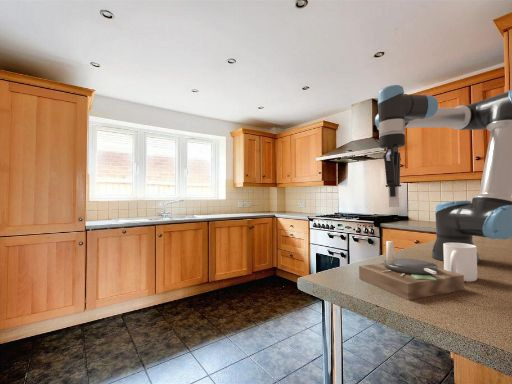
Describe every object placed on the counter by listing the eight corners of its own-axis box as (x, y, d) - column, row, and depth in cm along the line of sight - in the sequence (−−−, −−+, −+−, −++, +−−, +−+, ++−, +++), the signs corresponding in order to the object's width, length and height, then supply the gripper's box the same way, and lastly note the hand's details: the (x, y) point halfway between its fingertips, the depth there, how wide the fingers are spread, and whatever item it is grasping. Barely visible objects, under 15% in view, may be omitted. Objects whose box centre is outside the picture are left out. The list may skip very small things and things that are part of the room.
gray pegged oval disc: (375, 262, 86) (375, 238, 86) (417, 261, 87) (417, 237, 87) (408, 279, 69) (408, 248, 69) (461, 278, 69) (460, 247, 69)
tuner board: (408, 272, 90) (407, 259, 90) (466, 290, 72) (465, 274, 72) (359, 278, 83) (359, 265, 83) (409, 300, 66) (409, 283, 66)
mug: (469, 286, 75) (468, 250, 75) (435, 279, 81) (435, 246, 81) (480, 278, 82) (479, 245, 82) (449, 272, 89) (448, 241, 89)
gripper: (384, 139, 94) (386, 205, 94) (373, 133, 84) (376, 207, 84) (408, 136, 89) (410, 206, 89) (400, 129, 79) (402, 208, 79)
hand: (394, 206), depth 86 cm, fingers closed
